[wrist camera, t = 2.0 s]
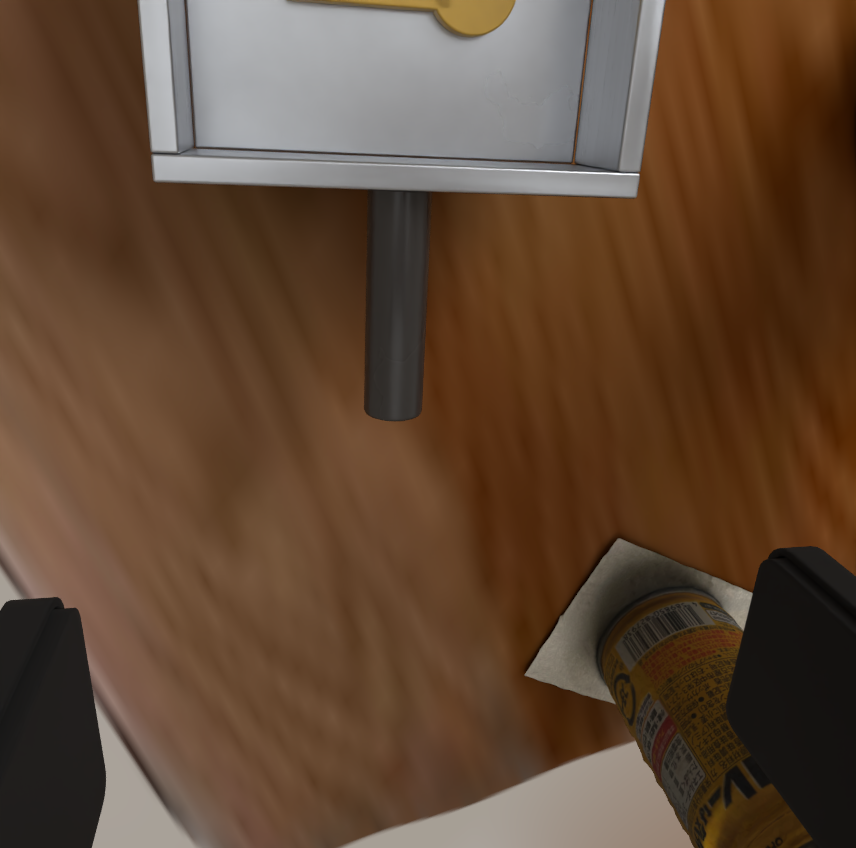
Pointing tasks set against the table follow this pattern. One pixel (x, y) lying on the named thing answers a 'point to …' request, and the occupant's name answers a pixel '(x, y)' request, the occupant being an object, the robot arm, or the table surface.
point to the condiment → (672, 690)
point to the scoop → (399, 123)
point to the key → (446, 12)
